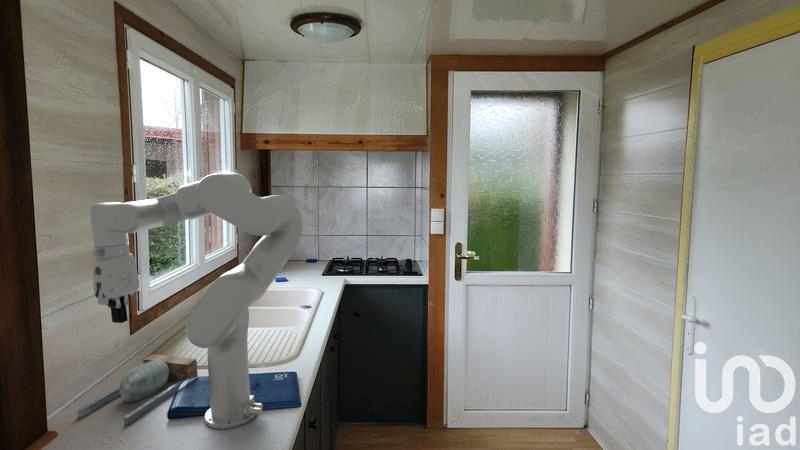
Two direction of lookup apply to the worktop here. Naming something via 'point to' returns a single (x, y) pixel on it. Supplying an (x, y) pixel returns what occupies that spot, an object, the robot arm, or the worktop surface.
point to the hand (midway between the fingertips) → (120, 321)
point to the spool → (144, 380)
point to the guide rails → (137, 412)
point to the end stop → (176, 366)
